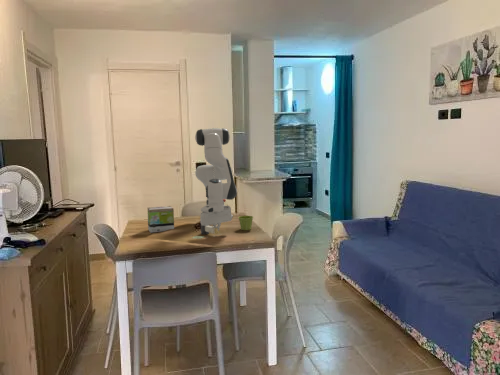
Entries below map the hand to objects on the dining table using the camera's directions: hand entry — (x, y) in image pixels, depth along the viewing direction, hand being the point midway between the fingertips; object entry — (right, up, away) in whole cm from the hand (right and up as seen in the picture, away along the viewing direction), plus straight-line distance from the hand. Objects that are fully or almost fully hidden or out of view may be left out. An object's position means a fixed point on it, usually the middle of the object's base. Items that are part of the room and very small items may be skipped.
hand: (216, 230), depth 232 cm
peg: (-4, -3, +1) cm, 5 cm away
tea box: (-37, -2, +22) cm, 43 cm away
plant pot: (+17, -2, +15) cm, 23 cm away
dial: (-8, -3, +5) cm, 10 cm away
